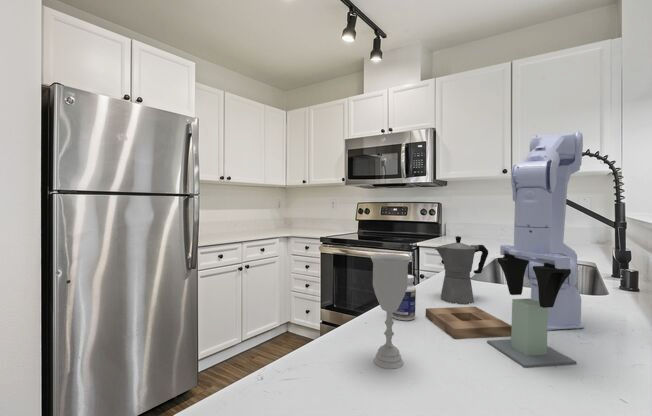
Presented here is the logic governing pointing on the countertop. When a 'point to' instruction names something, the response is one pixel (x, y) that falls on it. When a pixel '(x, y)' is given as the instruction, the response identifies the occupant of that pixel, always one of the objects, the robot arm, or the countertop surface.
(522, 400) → the countertop surface
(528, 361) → the slate mat
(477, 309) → the pocket holder
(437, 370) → the countertop surface
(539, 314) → the sage block
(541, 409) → the countertop surface
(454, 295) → the coffeepot
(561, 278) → the robot arm
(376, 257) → the chalice
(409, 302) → the pill bottle
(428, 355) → the countertop surface
